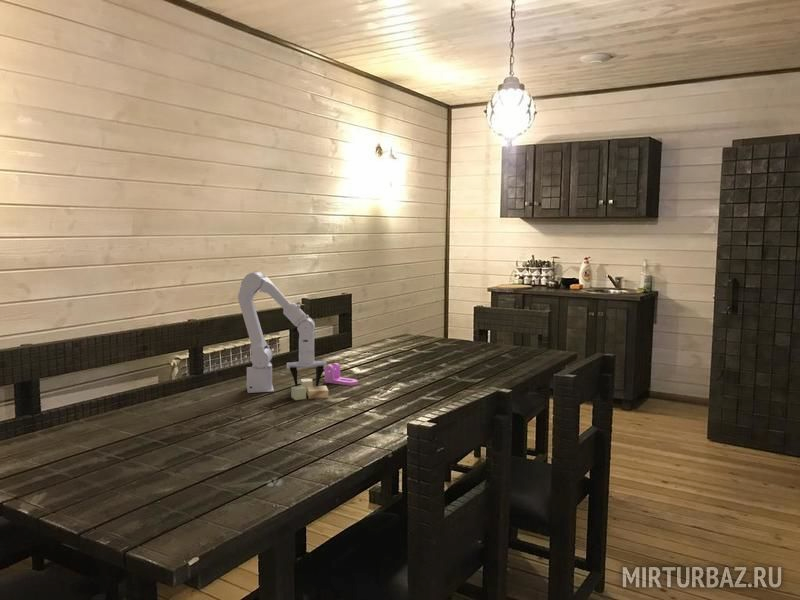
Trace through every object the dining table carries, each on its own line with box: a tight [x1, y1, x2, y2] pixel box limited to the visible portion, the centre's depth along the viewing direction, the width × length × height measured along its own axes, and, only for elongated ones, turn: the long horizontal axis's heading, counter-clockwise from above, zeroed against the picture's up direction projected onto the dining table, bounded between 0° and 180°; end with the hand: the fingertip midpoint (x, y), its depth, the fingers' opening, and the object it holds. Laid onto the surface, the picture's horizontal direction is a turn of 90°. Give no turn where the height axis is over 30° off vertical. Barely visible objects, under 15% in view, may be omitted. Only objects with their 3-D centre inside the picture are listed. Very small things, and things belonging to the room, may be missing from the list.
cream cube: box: [300, 378, 314, 393], centre depth 237 cm, size 4×4×4 cm
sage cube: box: [290, 385, 307, 401], centre depth 227 cm, size 4×4×4 cm
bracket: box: [324, 362, 359, 386], centre depth 250 cm, size 13×6×7 cm, turn 62°
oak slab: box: [306, 385, 329, 400], centre depth 231 cm, size 7×7×3 cm
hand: (306, 386), depth 238 cm, fingers open, 7 cm apart
